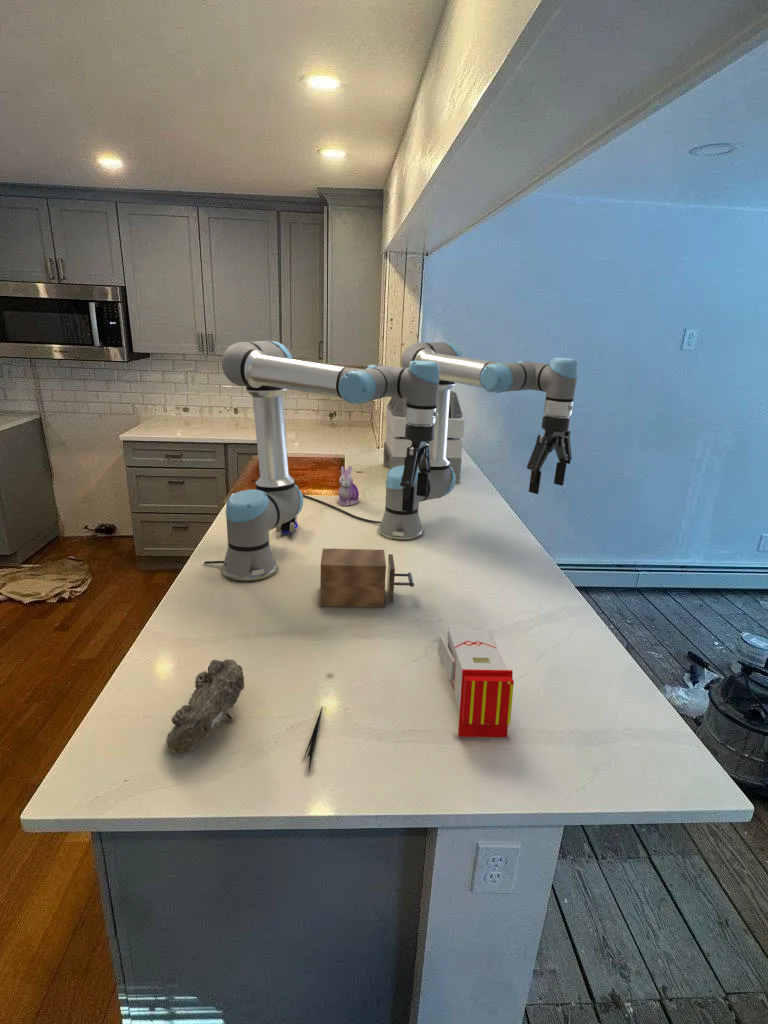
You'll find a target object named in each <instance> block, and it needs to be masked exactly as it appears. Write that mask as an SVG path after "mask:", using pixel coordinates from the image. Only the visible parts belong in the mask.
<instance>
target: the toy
mask: <svg viewBox="0 0 768 1024" xmlns="http://www.w3.org/2000/svg"><path fill="white" fill-rule="evenodd" d="M446 640H447V643H446V641H445V639H444V636H443V635H442V634H439V637H438V646H437V656H438V657H439V659H440V661H441V663H442V666H443V668H444V670H445V672H446V674H447V677H448V679H449V681H450V684H451V687H452V690H453V693H454V697H455V701H456V705H457V708H458V711H459V714H458V715H459V716H458V730H457V731H458V732H457V737H458V738H508V731H509V726H510V725H511V717H512V707H513V697H514V696H513V695H514V684H515V680H514V679H513V673H514V671H513V670H512V669H508V667H507V665H506V662H505V661H504V659H503V658H502V655H501V653H500V651H499V649H498V647H497V643H496V639H495V637H494V635H493V634H491V632H490V631H489V629H467V628H466V629H465V628H463V629H461V628H460V629H459V628H448V630H447V639H446Z"/></svg>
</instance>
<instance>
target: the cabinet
mask: <svg viewBox="0 0 768 1024" xmlns="http://www.w3.org/2000/svg"><path fill="white" fill-rule="evenodd" d="M321 551H322V552H321V559H320V588H319V589H320V592H319V593H320V594H319V595H320V599H319V600H320V601H319V603H320V604H319V605H320V607H342V608H343V607H345V608H346V607H348V608H349V607H350V608H351V607H352V608H354V607H355V608H385V595H386V579H387V563H386V561H387V560H386V555H385V549H370V548H369V549H363V548H361V549H360V548H322V550H321Z"/></svg>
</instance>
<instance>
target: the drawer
mask: <svg viewBox="0 0 768 1024" xmlns="http://www.w3.org/2000/svg"><path fill="white" fill-rule="evenodd" d="M395 577H407V579H408V582H399V581H397V582H395ZM395 586H407V587H410V588H413V587H415V581H414V577H413V573H412V572H411V571H410V572H408V573H396V565H395V560H394V554H393V553H392V554H391V553H388V555H387V570H386V593H387V601H388V603H390V604H391V603H392V604H393V603H394V593H395Z"/></svg>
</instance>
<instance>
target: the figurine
mask: <svg viewBox="0 0 768 1024" xmlns="http://www.w3.org/2000/svg"><path fill="white" fill-rule="evenodd" d="M352 471H353V466H352V465H349V466H348V467H347V469H346V468H345V467H344V466H341V467H340V473H341V474H340V477H339V479H338V483H339V485H340V487H339V488H338V504H339V505H340V506H353V505H355V504H358V502H359V496H360V492H359V489H358V487H357V485H356V484H354V479H353V477H352Z"/></svg>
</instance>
